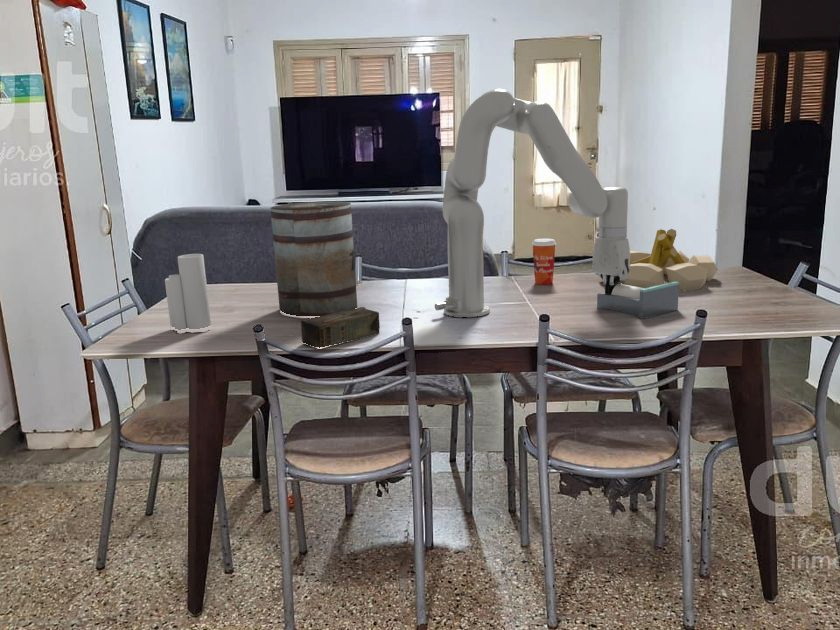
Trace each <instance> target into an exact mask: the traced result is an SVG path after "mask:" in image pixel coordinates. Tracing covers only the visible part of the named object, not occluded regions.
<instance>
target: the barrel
mask: <svg viewBox="0 0 840 630" xmlns="http://www.w3.org/2000/svg"><path fill="white" fill-rule="evenodd" d="M269 208H270V217H271V228H272V229H271V230H272V242H273V252H274V262H275V263H274V264H275V273H276V283H277V284H276V285H277V295H278V296H277V298H278V304H279V305H278V307H279V311H280V310H281V311H282V312H284V313H286V314H290V315H296V316H325V315H329V314H334V313H338V312H343V311H348V310H353V309H355V308H358V296H357V282H356V281H357V280H356V279H357V277H356V262H355V250H354V249H355V248H354V233H353V232H354V231H353V217H352V216H353V215H352V204H351V202H349V201H347V202H346V201H309V202H295V203H286V204H280V205H274V206H272V207H271V206H270V207H269Z"/></svg>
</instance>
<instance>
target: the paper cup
mask: <svg viewBox="0 0 840 630" xmlns="http://www.w3.org/2000/svg"><path fill="white" fill-rule="evenodd" d="M531 245H532V255H533V256H532V257H533V259H532V260H533V270H534V271H533V272H534V284H536V285H542V286H546V285H547V286H548V284H549V285H552V284H553V282H554V270H555V252H556V245H558V244H557V242H556V240H555V239H553V238H535V239H533V241H532V243H531ZM551 283H552V284H551Z"/></svg>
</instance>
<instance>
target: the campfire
mask: <svg viewBox="0 0 840 630" xmlns="http://www.w3.org/2000/svg"><path fill="white" fill-rule="evenodd" d="M676 237H677V230H675V229H673V228H670V229H668V230H667V231H666V230H665V229H661V228H660V229H657V230H656V235H655V238H654V242H653V246H652V249H651V253H648V252H644V251H637V250H630V271H629V273H628V279H626V280H621V281H620V283H619V284H621V283H622V284H623V283H624V285H629V286H635V287H640V288H648V287H653V286H657V285H662V284H665V279H664V278H665V277H664V274H667V275H666V276H667V278H668V281H669V282H668V283H671V282H679V291H681V292H688V291H696V290H700V289H702V288H703V287H704V285H705V284H706V282H711V281H712V279H713V278H714V277H715V275H716V273H717V272H718V271H719V269H718V267H717V265H716V263H715V261H714V260H713V258H712V257H711V256H710V255H708V254H707V255H706V254H704V255H703V254H701V255H698V254H697V255H692V256H691V257H690V258H689V257H687V255H686V254H684V252H682V250H677V249H676V248H675V246H674V244H675V240H676Z"/></svg>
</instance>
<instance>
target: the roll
mask: <svg viewBox="0 0 840 630" xmlns="http://www.w3.org/2000/svg"><path fill="white" fill-rule="evenodd" d="M640 289H644V288H640V287H635V286H629V285H626V284H625V283H624V284H623V283H622V284H617V285H616V286H615V287H614V289H613V291H612V294H611V295H619V296H624V297H629V298H634V299H639V300H640Z"/></svg>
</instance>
